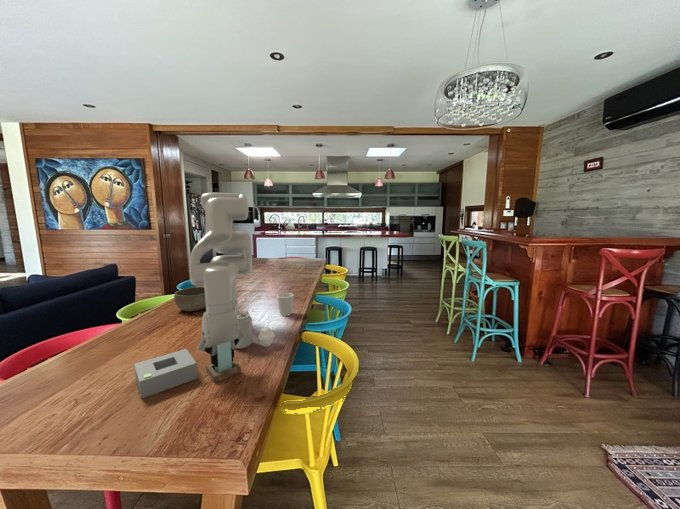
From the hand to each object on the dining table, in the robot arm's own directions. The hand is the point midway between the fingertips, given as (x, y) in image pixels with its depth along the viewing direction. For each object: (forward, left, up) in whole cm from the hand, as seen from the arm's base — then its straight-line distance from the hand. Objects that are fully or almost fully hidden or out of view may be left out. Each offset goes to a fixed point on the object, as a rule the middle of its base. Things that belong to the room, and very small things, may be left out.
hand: (223, 362), depth 86 cm
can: (-12, -14, -3) cm, 19 cm away
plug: (0, 0, -3) cm, 3 cm away
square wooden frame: (0, 0, -3) cm, 3 cm away
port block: (+14, -8, -3) cm, 16 cm away
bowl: (-10, -72, -3) cm, 73 cm away
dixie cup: (-42, -32, -3) cm, 53 cm away
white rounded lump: (-19, -8, -3) cm, 21 cm away
